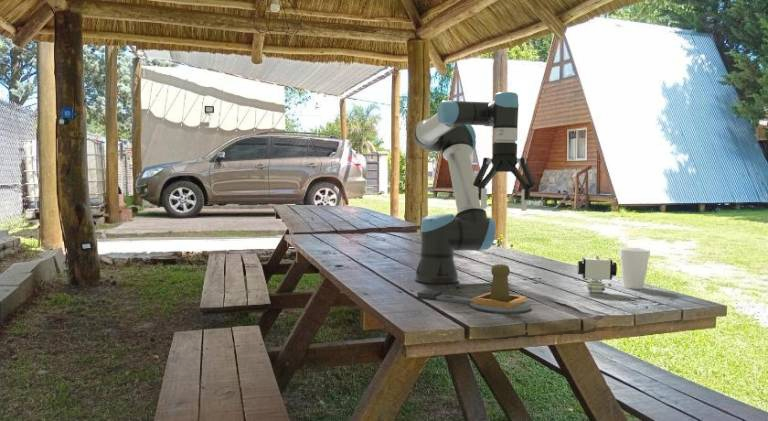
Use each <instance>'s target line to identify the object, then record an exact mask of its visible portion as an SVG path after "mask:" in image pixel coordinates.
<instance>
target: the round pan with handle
mask: <svg viewBox="0 0 768 421" xmlns="http://www.w3.org/2000/svg"><path fill="white" fill-rule="evenodd" d="M490 293H491V291H489V292H486V293H483V294H481V295H477V296H475V297H472V298H471V297H470V298H469V297H463V296H457V295H456V296H455V295H449V294H448V295H447V294H442V292H441V291H436V290H428V289H424V290H420V291H417V296H416V297H417V298H421V299H427V300H428V299H429V300H436V301H444V302H450V303H459V304H466V305H469V307H470V308H471V309H472V310H475V311H479V312H483V313H490V314H500V315H501V314H502V315H503V314H504V315H507V314H509V315H510V314H512V315H513V314H523V313H527V312H529V311H531V304H530V303H531V302H528V301H527V296H523V295H517V294H516V295H515V294H509V296H510V302H506V301H498V300H491V299H490Z"/></svg>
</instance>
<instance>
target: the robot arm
mask: <svg viewBox="0 0 768 421" xmlns="http://www.w3.org/2000/svg"><path fill="white" fill-rule="evenodd" d="M438 104H439V105H438V107H437V112H436V113H435V114H434V115H432V116H431V117H430V118H428V119H423V120H421V121H419V122H418V123H417V124H416V125H415V127H414V129H413V139H414V142H415V143H416V144H417V145H418V146H419V147H420V148H421V149H423V150H425V151H428V152H439V153H442V158H443V159H444V160H445V161H447V164H448V169H449V174H450V179H451V185H452V190H453V194H454V200H455V205H456V211H457V213H456V214H453V213H445V214H444V213H441V214H433V215H428V216H425V217H423V218H422V219H421V225H420V230H419V231H420V259H419V262H418V265H417V268H416V269H415V273H414V275H415V276H414V277H415V278H414V280H415V281H417V282H420V283H425V284H435V285H437V284H452V283H453V284H454V283H457V282H458V281H459V273H458V270H457V267H456V264H455V260H454V254H455V253H454V252H455V251H478V252H479V251H487V250H489V249H490V248H491V247H492V246H493V244H494V241H495V238H496V232H497V231H496V230H497V228H496V227H497V226H496V222H495V220H494V219H493V217H490V216H489V217H488V216H487V210H486V209H488V208H487V207H488V206H487V203H488V202H487V201H488V199H487V198H488V197H487V196H488V188H486V186H487V185H488V184H489V183H490V181H492V179H493V178H494V177H495V175H496V174H497V173H498V172H499V173H502V172H503V173H504V172H506V173H511V174H513V176H514V177H515V178H516V180H517V181H518V182H519V183H520V185H521V186H522V187H523V189H521V199H520V200H521V204H520V206H521V207H520V210H521V211H522V212H524V211H525V212H526V211H527V209H528V200H530V198H531V190H532V189H533V188H536V187H537V183H536V181H535V179H534V177H533V175H532V172H531V170H530V168H529V166H528V159H527V158H526V157H520V158H519V157H517V156H518V143H516V142H517V141H518V131H519V130H518V127H519V126H518V120H519V105H520V104H519V95H518V93H516V92H511V91H504V92H502V91H501V92H496V93H495V94H494V97H493V101H491V102H490V101H489V102H488V101H486V102H485V101H466V100H465V101H461V100H453V99H451V100H450V99H449V100H442V101H440V103H438ZM473 126H483V127H491V128H493V135H492V136H493V138H492V141H493V144H492V157H491V158H490V157H483V159H482V165H481V167H480V169H479V171H478V173H477V175H476V177H475V174H474V170H473V165H472V160H471V155H472V154H473V153H474V152H473V151H474V150H476V149H475V148H476V144H477V141H476V139H477V136H476V132H475V129H474V127H473ZM491 164H492V165H493V166H492V167H491V169H490V170H489V172H488V173H487V171H488V169H489V167H490V165H491ZM517 164H519V165H520V167H521V169H522V172H523V174H524V176H525V177H524V176H523V175H522V173H521V172H520V171H519V169H518V168H517ZM486 173H487V174H486ZM485 175H486V176H485ZM477 188H478V189H477Z"/></svg>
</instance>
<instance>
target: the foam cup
mask: <svg viewBox="0 0 768 421" xmlns="http://www.w3.org/2000/svg"><path fill="white" fill-rule="evenodd" d="M650 254H651V250H650V249H648V248H642V247H641V248H640V247H639V248H638V247H621V248H619V256H620V267H621V268H620V269H621V276H622V277H621V278H622V284H623V285H622V287H623V288H625V287H626V289H631V290H632V289H634V290H641V289H644V286H645V280H646V274H647V270H648V264H649V258H650Z"/></svg>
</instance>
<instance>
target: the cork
mask: <svg viewBox="0 0 768 421" xmlns="http://www.w3.org/2000/svg"><path fill="white" fill-rule="evenodd" d="M490 271H491V275H492V280H491V281H492V282H491V287H490V288H491V289H490V292H491V293H490V299H491V300H498V301H506V302H510V296H509V295H510V290H509V289H510V286H509V278H508V277H509V275H510V267H509V265H507V264H502V263H501V264H500V263H499V264H494V265H492V266H491V270H490Z"/></svg>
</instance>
